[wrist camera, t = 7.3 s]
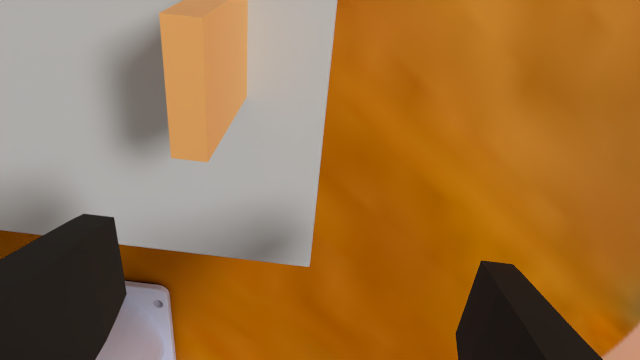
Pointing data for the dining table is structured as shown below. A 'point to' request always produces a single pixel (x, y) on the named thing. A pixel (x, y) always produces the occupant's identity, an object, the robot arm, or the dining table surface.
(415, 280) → the dining table surface
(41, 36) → the carton lid
